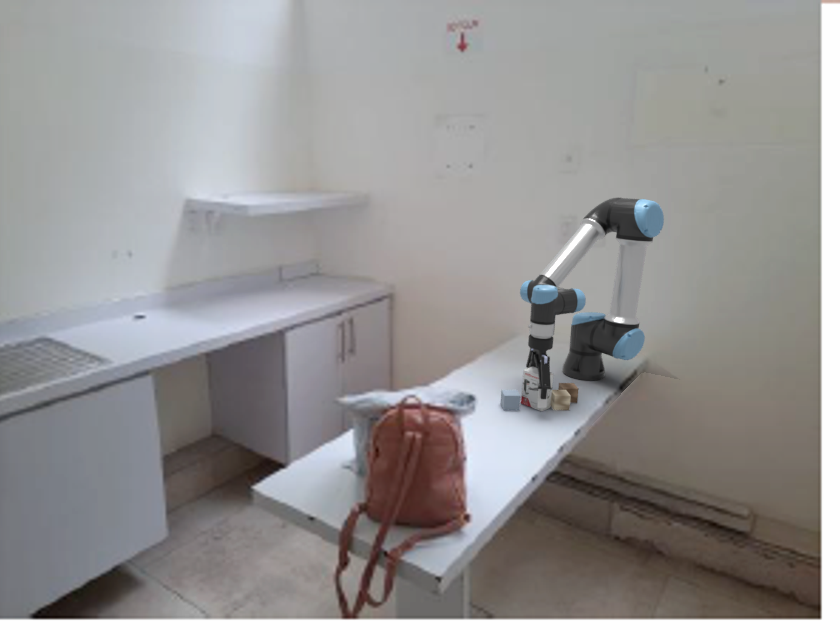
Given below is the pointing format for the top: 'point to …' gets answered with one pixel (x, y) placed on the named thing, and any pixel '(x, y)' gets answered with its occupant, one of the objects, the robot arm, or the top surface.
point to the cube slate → (510, 400)
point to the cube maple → (560, 400)
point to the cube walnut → (570, 390)
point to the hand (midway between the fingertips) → (535, 399)
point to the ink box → (533, 388)
